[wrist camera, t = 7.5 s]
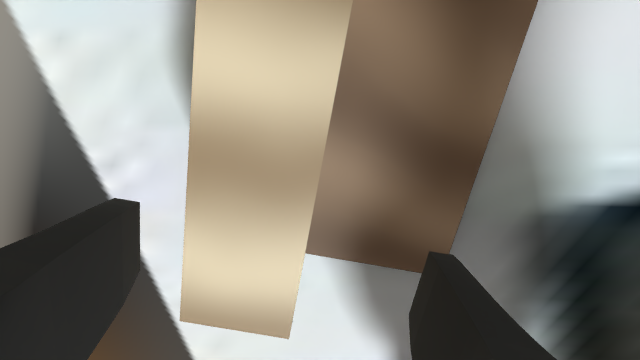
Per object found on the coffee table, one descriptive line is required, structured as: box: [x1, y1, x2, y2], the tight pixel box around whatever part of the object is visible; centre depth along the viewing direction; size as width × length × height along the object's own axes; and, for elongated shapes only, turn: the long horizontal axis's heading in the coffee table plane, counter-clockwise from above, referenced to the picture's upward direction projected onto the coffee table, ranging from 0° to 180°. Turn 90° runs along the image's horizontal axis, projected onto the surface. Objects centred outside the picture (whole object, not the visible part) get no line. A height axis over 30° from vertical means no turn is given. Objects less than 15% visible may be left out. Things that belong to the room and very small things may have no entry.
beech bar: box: [180, 0, 353, 339], centre depth 16 cm, size 13×4×4 cm, turn 170°
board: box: [305, 0, 538, 273], centre depth 21 cm, size 14×11×1 cm
